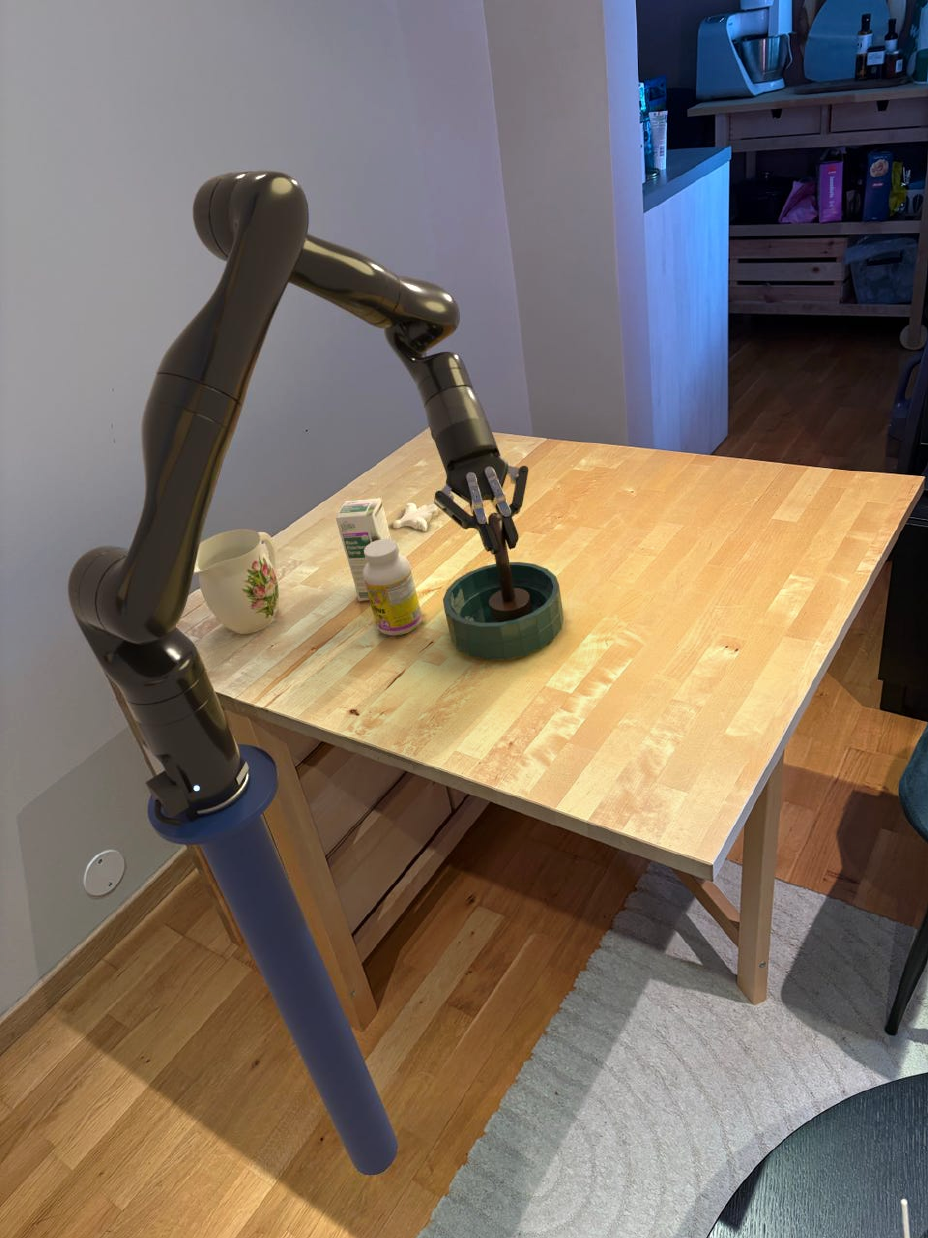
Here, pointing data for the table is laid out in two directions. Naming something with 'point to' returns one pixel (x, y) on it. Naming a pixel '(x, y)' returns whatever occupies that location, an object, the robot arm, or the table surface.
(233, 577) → the pitcher
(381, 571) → the supplement bottle
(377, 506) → the syrup box
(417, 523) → the acanthus leaf ornament
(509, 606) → the brown peg on disc
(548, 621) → the bowl
